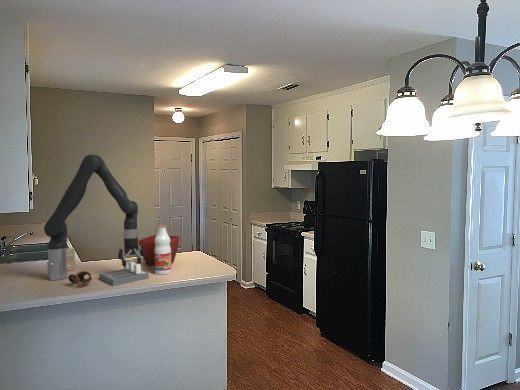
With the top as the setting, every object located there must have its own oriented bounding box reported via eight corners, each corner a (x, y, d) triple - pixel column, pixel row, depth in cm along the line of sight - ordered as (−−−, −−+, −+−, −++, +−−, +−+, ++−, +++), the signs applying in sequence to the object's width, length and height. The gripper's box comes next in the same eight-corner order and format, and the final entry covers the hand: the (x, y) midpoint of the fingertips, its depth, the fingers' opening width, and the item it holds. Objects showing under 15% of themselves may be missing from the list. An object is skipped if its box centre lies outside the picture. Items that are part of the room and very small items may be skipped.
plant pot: (166, 269, 255) (165, 241, 254) (138, 267, 260) (137, 240, 258) (180, 261, 273) (179, 236, 272) (154, 260, 278) (153, 235, 277)
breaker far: (126, 270, 240) (125, 261, 240) (123, 269, 242) (123, 260, 242) (130, 269, 242) (130, 260, 241) (128, 268, 244) (127, 259, 244)
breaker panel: (113, 285, 220) (113, 280, 220) (99, 278, 235) (99, 273, 234) (148, 278, 234) (148, 273, 234) (133, 272, 248) (133, 267, 248)
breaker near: (136, 274, 231) (136, 265, 230) (134, 273, 233) (133, 264, 232) (140, 273, 232) (140, 264, 232) (138, 272, 234) (138, 263, 234)
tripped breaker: (131, 272, 235) (131, 263, 235) (128, 271, 238) (128, 262, 237) (135, 271, 237) (135, 262, 237) (133, 270, 239) (132, 261, 239)
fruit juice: (174, 271, 248) (173, 224, 246) (165, 275, 239) (163, 226, 237) (161, 270, 252) (160, 223, 250) (151, 274, 243) (150, 225, 241)
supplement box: (59, 271, 252) (58, 250, 251) (60, 269, 257) (59, 248, 256) (74, 270, 254) (73, 249, 253) (75, 268, 259) (74, 247, 258)
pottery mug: (92, 282, 230) (94, 271, 226) (88, 294, 222) (89, 283, 218) (69, 278, 227) (71, 266, 223) (63, 290, 219) (65, 279, 215)
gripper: (121, 239, 228) (122, 268, 230) (145, 236, 238) (146, 264, 239) (115, 237, 234) (116, 266, 235) (139, 234, 243) (140, 262, 245)
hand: (131, 265), depth 237 cm, fingers open, 8 cm apart
